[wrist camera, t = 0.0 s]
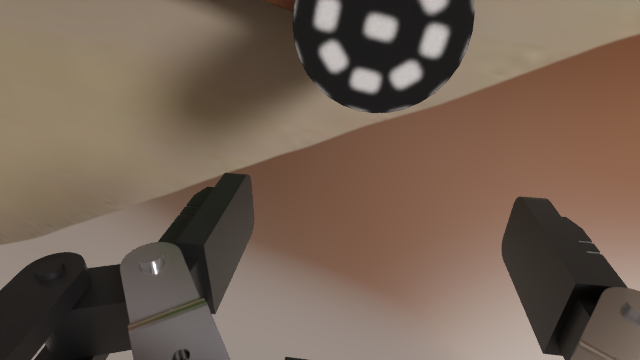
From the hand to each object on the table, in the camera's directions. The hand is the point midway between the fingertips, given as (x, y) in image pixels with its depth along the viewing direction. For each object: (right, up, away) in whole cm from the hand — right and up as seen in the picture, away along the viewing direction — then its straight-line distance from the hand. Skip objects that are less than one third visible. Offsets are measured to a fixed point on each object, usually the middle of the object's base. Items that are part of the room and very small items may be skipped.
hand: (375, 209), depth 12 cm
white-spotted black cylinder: (+4, +18, +24) cm, 30 cm away
